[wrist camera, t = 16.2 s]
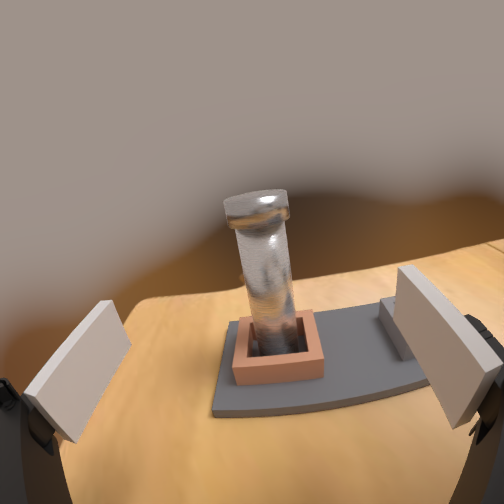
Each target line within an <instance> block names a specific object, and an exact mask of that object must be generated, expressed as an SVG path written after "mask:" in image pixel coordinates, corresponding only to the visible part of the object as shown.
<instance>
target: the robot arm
mask: <svg viewBox="0 0 504 504" xmlns="http://www.w3.org/2000/svg"><path fill="white" fill-rule="evenodd" d="M393 321H394V322H395V324H396V326H397V327H398V329H399V330H400V332H401V334H402V335H403V337H404V339H405V340H406V342H407V344H408V345H409V347H410V349H411V351H412V352H413V354H414V356H415V358H416V359H417V361H418V363H419V365H420V366H421V368H422V370H423V372H424V374H425V375H426V377H427V379H428V381H429V383H430V385H431V387H432V389H433V391H434V392H435V394H436V396H437V398H438V400H439V402H440V404H441V406H442V408H443V410H444V412H445V414H446V416H447V419H448V421H449V423H450V425H451V427H452V429H455V428H457V427H459V426H461V425H463V424H465V423H467V422H469V421H471V419H472V418H473V416H474V415H475V413H476V411H478V413H479V415H480V418H479V420H478V421H477V423H476V424H475V425H474V427H473V428H472V430H471V431H470V433H469V436H471V435H472V434H473V432H474V431H475V434H474V437H473V441H472V444H471V447H470V451H469V454H468V457H467V460H466V463H465V465H464V468H463V471H462V474H461V476H460V479H459V481H458V484H457V486H456V488H455V491H454V493H453V495H452V498H451V500H450V502H449V504H504V347H503V346H502V345H501V344H500V343H499V342H498V340H497V339H496V338H495V337H493V335H492V334H491V332H490V331H489V330H488V331H487V328H486V327H485V326H484V325H483V324H482V323H481V321H480V320H478V319H476V318H475V317H473V316H471V315H469V314H468V315H465V316H463V315H462V314H461V313H460V311H459V310H458V309H457V308H456V307H455V306H454V305H453V304H452V303H451V302H450V301H449V300H448V299H447V298H446V297H445V296H444V295H443V294H442V293H441V292H440V291H439V290H438V289H437V288H436V287H435V286H434V285H433V284H432V283H431V282H430V281H429V280H428V279H427V278H426V277H425V276H424V275H423V274H422V273H421V272H420V271H419V270H418V269H417V268H416V267H415V266H414V265H407V266H401V267H398V274H397V286H396V297H395V306H394V314H393ZM131 345H132V344H131V342H130V340H129V338H128V336H127V334H126V332H125V329H124V327H123V325H122V323H121V320H120V318H119V316H118V313H117V311H116V308H115V306H114V304H113V301H112V300H109V301H108V300H107V301H100V302H99V303H98V304H97V305H96V306H95V307H94V309H93V310H92V311H91V312H90V313H89V314H88V315H87V316H86V318H84V319H83V321H82V322H81V323H80V324H79V325H78V326H77V327H76V329H75V330H74V331H73V332H72V333H71V334H70V335H69V337H68V338H67V339H66V340H65V341H64V342H63V344H62V345H61V346H60V347H59V348H58V350H57V351H56V352H55V353H54V354H53V356H52V357H51V358H50V359H49V360H48V361H47V363H46V364H45V365H44V366H43V368H42V369H41V370H40V371H39V373H38V374H37V375H36V376H35V378H34V379H33V380H32V382H31V383H30V384H29V386H28V387H27V388H26V389H25V391H24V392H23V394H22V395H21V396H19V394H18V393H17V392H16V390H15V389H14V388H13V386H12V385H11V383H10V382H9V381H8V380H7V379H6V378H0V504H73V503H72V500H71V497H70V494H69V490H68V486H67V483H66V479H65V475H64V471H63V466H62V462H61V457H60V452H59V447H58V441H57V439H56V437H55V436H54V435H53V434H54V432H55V430H56V431H57V433H58V434H59V435H60V436H61V437H62V438H63V439H65V440H67V441H70V442H73V443H75V444H77V442H78V440H79V438H80V436H81V434H82V432H83V430H84V428H85V427H86V425H87V423H88V421H89V419H90V417H91V415H92V413H93V412H94V410H95V408H96V406H97V404H98V402H99V401H100V399H101V397H102V395H103V393H104V392H105V390H106V388H107V386H108V384H109V383H110V381H111V379H112V377H113V376H114V374H115V372H116V371H117V369H118V367H119V365H120V364H121V362H122V360H123V359H124V357H125V355H126V354H127V352H128V350H129V349H130V347H131Z"/></svg>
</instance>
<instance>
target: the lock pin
mask: <svg viewBox="0 0 504 504" xmlns="http://www.w3.org/2000/svg"><path fill="white" fill-rule="evenodd" d="M224 207H225V212H226V217H227V222H228V227H230V228H232V229H235V231H236V237H237V242H238V247H239V252H240V257H241V263H242V268H243V273H244V278H245V283H246V288H247V293H248V299H249V304H250V309H251V314H252V319H253V324H254V329H255V334H256V339H257V343H258V348H259V353H260V357H262V356H273V355H283V354H292V353H299V343H298V333H297V323H296V313H295V304H294V295H293V286H292V278H291V269H290V261H289V254H288V245H287V238H286V230H285V223H284V221H285V220H287V219H288V218H289V217H290V213H289V206H288V199H287V192H286V190H280V189H279V190H277V189H276V190H263V191H256V192H249V193H244V194H240V195H236V196H233V197H230V198H227V199H225V200H224Z"/></svg>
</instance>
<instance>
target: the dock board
mask: <svg viewBox="0 0 504 504" xmlns="http://www.w3.org/2000/svg"><path fill="white" fill-rule="evenodd" d="M395 297H396V296H393V297H388V298H382V299H380V302H378V303H373V304H367V305H361V306H355V307H349V308H342V309H336V310H329V311H322V312H315V313H313V311H312V309H311V310H304V311H296V312H295V313H296V323H297V333H298V343H299V353H292V354H283V355H273V356H262V357H260V353H259V348H258V343H257V339H256V334H255V329H254V324H253V319H252V316H249V317H240V319H239V321H230V322H229V326H228V331H227V336H226V341H225V346H224V351H223V356H222V361H221V366H220V371H219V376H218V381H217V386H216V391H215V396H214V401H213V406H212V412H213V414H214V416H215V418H234V417H262V416H277V415H288V414H298V413H307V412H314V411H321V410H328V409H334V408H340V407H345V406H351V405H356V404H361V403H365V402H370V401H374V400H378V399H382V398H386V397H390V396H394V395H398V394H401V393H405V392H408V391H412V390H415V389H418V388H421V387H424V386H427V385H430V383H429V381H428V379H427V377H426V375H425V374H424V372H423V370H422V368H421V366H420V365H419V363H418V361H417V359H416V358H415V356H414V354H413V352H412V351H411V349H410V347H409V345H408V344H407V342H406V340H405V339H404V337H403V335H402V334H401V332H400V330H399V329H398V327H397V326H396V324H395V322H394V321H393V314H394V306H395Z"/></svg>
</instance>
